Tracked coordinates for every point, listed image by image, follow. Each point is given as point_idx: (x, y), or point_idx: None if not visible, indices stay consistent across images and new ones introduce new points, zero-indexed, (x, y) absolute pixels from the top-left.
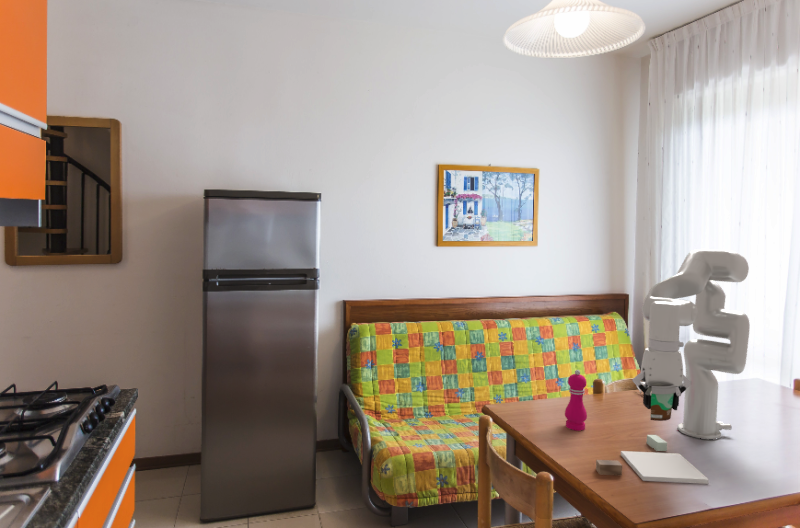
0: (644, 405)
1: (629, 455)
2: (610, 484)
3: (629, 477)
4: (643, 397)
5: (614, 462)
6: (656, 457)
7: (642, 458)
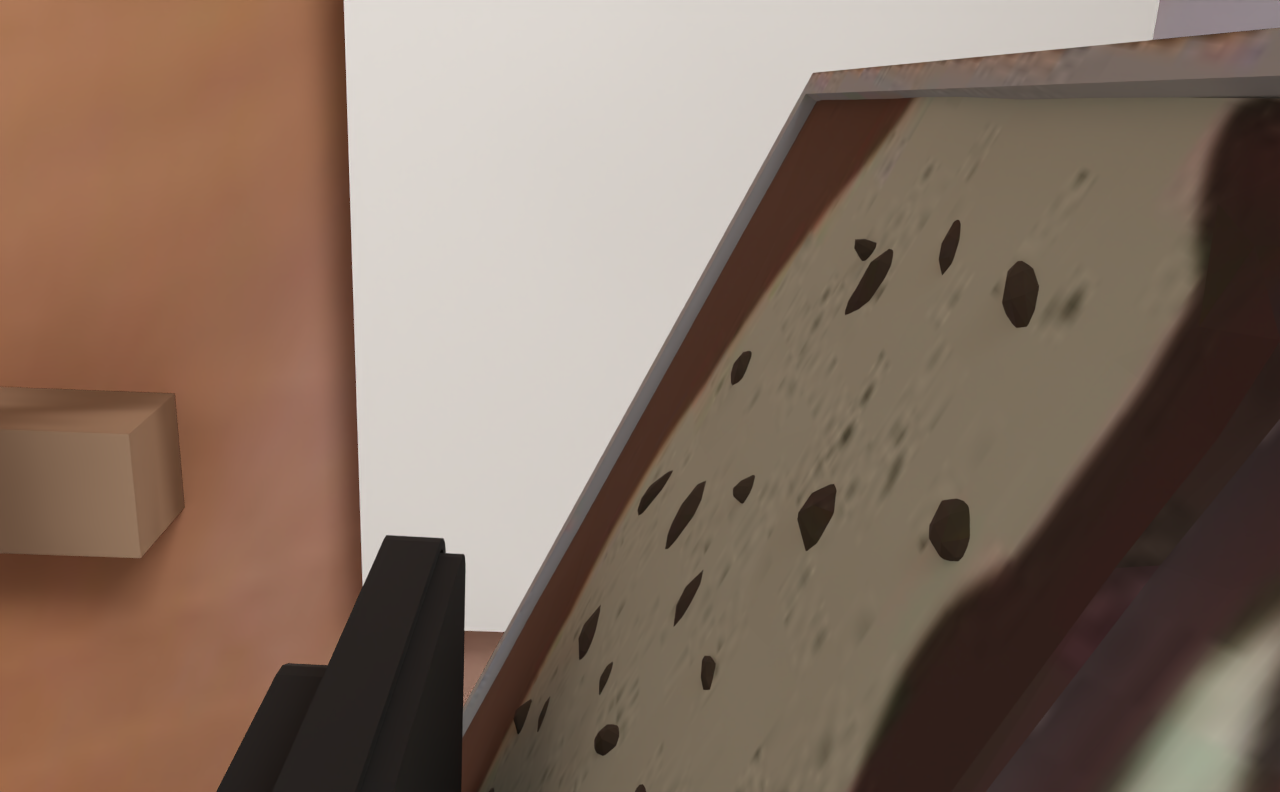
0: (390, 540)
1: (413, 85)
2: (11, 690)
3: (255, 542)
4: (228, 790)
5: (65, 488)
6: (762, 127)
7: (553, 173)
